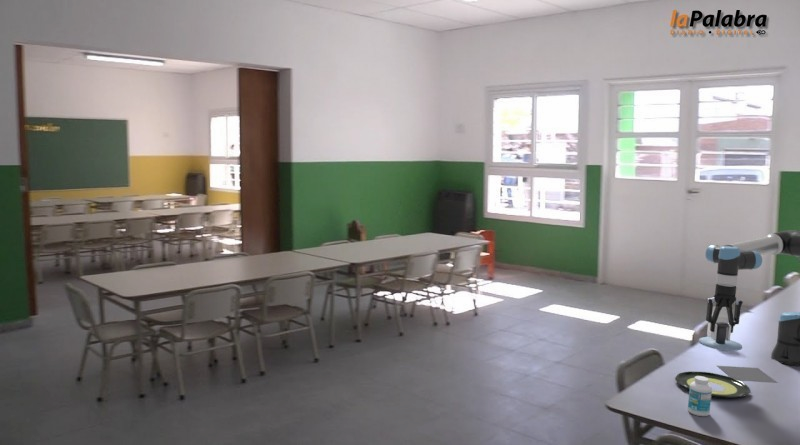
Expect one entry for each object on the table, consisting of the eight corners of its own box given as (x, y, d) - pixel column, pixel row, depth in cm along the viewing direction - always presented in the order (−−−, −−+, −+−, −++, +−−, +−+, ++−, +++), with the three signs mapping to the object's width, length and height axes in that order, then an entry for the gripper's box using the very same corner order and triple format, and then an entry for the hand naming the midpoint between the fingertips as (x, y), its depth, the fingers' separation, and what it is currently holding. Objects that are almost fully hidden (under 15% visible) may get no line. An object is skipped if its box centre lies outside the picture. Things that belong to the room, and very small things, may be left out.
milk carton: (725, 346, 321) (728, 309, 319) (710, 345, 322) (713, 308, 320) (721, 342, 328) (724, 305, 326) (706, 340, 329) (709, 304, 327)
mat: (757, 369, 288) (757, 367, 288) (777, 383, 270) (777, 382, 270) (716, 366, 290) (716, 365, 290) (733, 381, 272) (733, 380, 272)
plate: (719, 407, 245) (720, 400, 245) (659, 382, 270) (660, 376, 269) (765, 395, 258) (765, 389, 258) (704, 372, 283) (704, 367, 282)
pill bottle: (683, 408, 242) (686, 374, 240) (702, 408, 242) (705, 374, 241) (694, 417, 234) (697, 381, 233) (713, 417, 235) (716, 381, 233)
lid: (732, 340, 271) (734, 319, 270) (748, 352, 255) (751, 330, 254) (693, 337, 273) (695, 317, 272) (707, 349, 257) (709, 327, 256)
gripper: (744, 283, 264) (739, 338, 267) (700, 281, 265) (694, 335, 268) (753, 287, 256) (747, 344, 259) (707, 285, 258) (701, 341, 261)
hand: (720, 339), depth 264 cm, fingers closed on lid, 5 cm apart
